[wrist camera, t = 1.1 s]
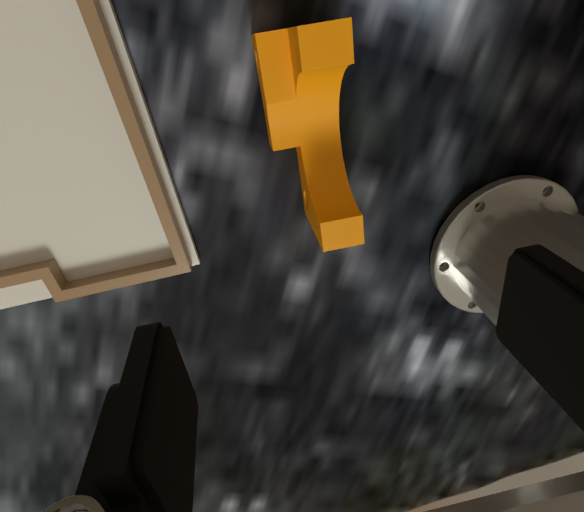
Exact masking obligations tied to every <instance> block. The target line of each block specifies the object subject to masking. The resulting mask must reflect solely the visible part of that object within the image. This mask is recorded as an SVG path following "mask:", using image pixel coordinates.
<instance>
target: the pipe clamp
mask: <svg viewBox="0 0 584 512" xmlns="http://www.w3.org/2000/svg"><path fill="white" fill-rule="evenodd" d="M251 35H252V41H253V47H254V53H255V59H256V65H257V71H258V77H259V82H260V88H261V94H262V100H263V106H264V112H265V118H266V124H267V130H268V136H269V142H270V145H271V147H272V149H273V151H277V150H283V149H288V148H293V147H296V149H297V156H298V164H299V171H300V178H301V186H302V193H303V201H304V208H305V213H306V216H307V218H308V220H309V222H310V224H311V226H312V229H313V231H314V233H315V235H316V237H317V239H318V241H319V244H320V246H321V248H322V250H323V252H325V251H330V250H335V249H340V248H345V247H350V246H355V245H360V244H364V229H363V215H362V213H361V212H360V210H359V209H358V207H357V205H356V202H355V200H354V198H353V195H352V192H351V189H350V186H349V182H348V179H347V175H346V170H345V166H344V160H343V154H342V148H341V139H340V128H339V96H340V87H341V82H342V78H343V74H344V72H345V70H346V68H347V67H348V66H349V65H350V64H354V50H353V32H352V17H350V18H344V19H338V20H332V21H325V22H319V23H313V24H307V25H301V26H295V27H291V28H286V29H280V30H274V31H267V32H261V33H255V34H251Z"/></svg>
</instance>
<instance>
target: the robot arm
mask: <svg viewBox="0 0 584 512" xmlns="http://www.w3.org/2000/svg"><path fill="white" fill-rule="evenodd" d="M430 271H431V277H432V280H433V282H434V284H435V287H436V288H437V289H438V291H439V292H440V293H441V295H442V296H443V297H444V298H445V299H446V300H447V301H448V302H449V303H450V304H452V305H454V306H455V307H457V308H459V309H462V310H465V311H468V312H477V313H484V314H485V315H486V316H487V317H488V318H489V319H490V320H491V321H492V322H493V323H494V324H495V325H496V334H497V337H498V339H499V340H500V342H501V343H502V344H503V345H504V346H505V347H506V348H507V349H508V350H509V351H510V352H511V354H512V355H513V356H514V357H515V358H516V359H517V360H518V361H519V362H520V363H521V364H522V365H523V367H524V368H525V369H526V370H527V371H528V372H529V373H530V374H531V375H532V376H533V377H534V378H535V379H536V381H537V382H538V383H539V384H540V385H541V386H542V387H543V388H544V389H545V390H546V391H547V392H548V394H549V395H550V396H551V397H552V398H553V399H554V400H555V401H556V402H557V403H558V404H559V405H560V406H561V408H562V409H563V410H564V411H565V412H566V413H567V414H568V415H569V416H570V417H571V418H572V419H573V421H574V422H575V423H576V424H577V425H578V426H579V427H580V428H581V429H582V430H583V431H584V216H583V215H581V214H579V213H578V207H577V205H576V203H575V201H574V198H573V197H572V196H571V195H570V193H569V192H568V191H567V190H566V189H565V188H563V187H562V186H560V185H559V184H557V183H555V182H553V181H550V180H548V179H546V178H543V177H538V176H533V175H516V176H511V177H507V178H502V179H499V180H497V181H495V182H492V183H490V184H487V185H485V186H484V187H482V188H480V189H479V190H477V191H475V192H474V193H472V194H471V195H470V196H468V197H467V198H466V199H465V200H464V201H462V202H461V203H460V204H459V205H458V206H457V207H456V208H455V209H454V210H453V211H452V213H451V214H450V215H449V216H448V217H447V219H446V220H445V222H444V223H443V225H442V226H441V228H440V230H439V232H438V234H437V236H436V238H435V240H434V243H433V247H432V251H431V255H430ZM197 416H198V403H197V397H196V394H195V391H194V389H193V386H192V383H191V381H190V378H189V375H188V373H187V370H186V367H185V365H184V362H183V360H182V357H181V354H180V352H179V349H178V346H177V344H176V341H175V338H174V336H173V333H172V330H171V328H170V327H169V326H165V327H163V326H162V324H161V323H160V322H156V323H151V324H147V325H142V326H138V327H136V329H135V332H134V336H133V339H132V343H131V346H130V350H129V353H128V357H127V360H126V364H125V367H124V371H123V374H122V378H121V381H120V383H118V384H114V385H112V386H111V387H110V388H109V390H108V392H107V395H106V398H105V401H104V404H103V407H102V411H101V414H100V417H99V420H98V423H97V427H96V430H95V433H94V436H93V439H92V443H91V446H90V449H89V452H88V455H87V458H86V462H85V465H84V468H83V471H82V474H81V478H80V481H79V484H78V487H77V490H76V494H75V496H70V497H67V498H65V499H63V500H60V501H58V502H56V503H55V504H53V505H52V506H50V507H49V508H48V509H46V510H45V511H43V512H192V507H193V488H194V470H195V452H196V434H197ZM425 512H584V471H583V472H579V473H575V474H571V475H567V476H563V477H559V478H555V479H551V480H547V481H543V482H539V483H536V484H531V485H527V486H523V487H519V488H515V489H511V490H508V491H504V492H500V493H496V494H492V495H488V496H484V497H480V498H476V499H473V500H469V501H465V502H461V503H457V504H453V505H449V506H445V507H441V508H437V509H433V510H429V511H425Z"/></svg>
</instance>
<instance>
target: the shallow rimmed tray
mask: <svg viewBox="0 0 584 512" xmlns="http://www.w3.org/2000/svg"><path fill="white" fill-rule="evenodd" d="M198 264H200V258H199V255H198V252H197V249H196V246H195V243H194V240H193V237H192V235H191V232H190V229H189V226H188V223H187V220H186V217H185V214H184V211H183V208H182V205H181V202H180V200H179V197H178V194H177V191H176V188H175V185H174V182H173V179H172V176H171V173H170V170H169V168H168V165H167V162H166V159H165V156H164V153H163V150H162V147H161V144H160V141H159V138H158V135H157V133H156V130H155V127H154V124H153V121H152V118H151V115H150V112H149V109H148V106H147V103H146V101H145V98H144V95H143V92H142V89H141V86H140V83H139V80H138V77H137V74H136V71H135V69H134V66H133V63H132V60H131V57H130V54H129V51H128V48H127V45H126V42H125V39H124V36H123V34H122V31H121V28H120V25H119V22H118V19H117V16H116V13H115V10H114V7H113V4H112V2H111V0H0V309H4V308H8V307H13V306H17V305H22V304H26V303H30V302H35V301H39V300H44V299H48V298H52V297H53V299H54V300H55V302H60V301H64V300H68V299H73V298H77V297H81V296H86V295H90V294H95V293H99V292H103V291H108V290H112V289H117V288H121V287H125V286H130V285H134V284H139V283H143V282H147V281H152V280H156V279H161V278H165V277H169V276H174V275H178V274H183V273H187V272H191V270H192V266H193V265H198Z"/></svg>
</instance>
